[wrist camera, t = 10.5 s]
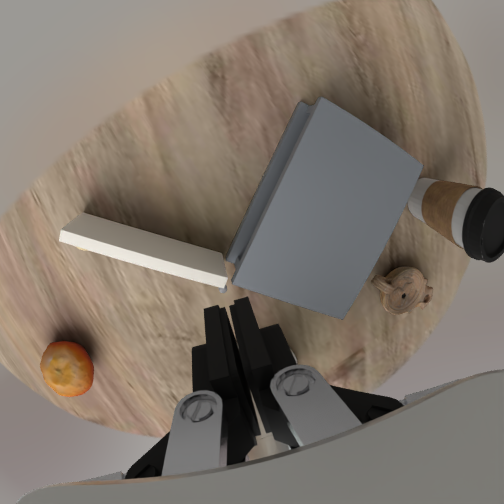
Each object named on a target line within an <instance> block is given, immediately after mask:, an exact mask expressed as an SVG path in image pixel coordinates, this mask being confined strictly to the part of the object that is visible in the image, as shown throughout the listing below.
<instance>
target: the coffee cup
mask: <svg viewBox="0 0 504 504" xmlns="http://www.w3.org/2000/svg"><path fill="white" fill-rule="evenodd" d="M407 204H408V208H409V211H410V212H411V214H412V215H413V216H414V217H416V218H418V219H419V220H421V221H422V222H424V223H426V224H427V225H428V226H430V227H431V228H433V229H434V230H435V231H437V232H438V233H440V234H441V235H443V236H444V237H445V238H447V239H448V240H450V241H451V242H452V243H454V244H455V245H457V246H458V247H460V248H462V249H465V252H466V253H467V254H468V256H470V257H471V258H474V259H476V260H483V261H485V262H493V261H495V260H497V259H498V258H499V257H500V256H501V255H502V254H503V253H504V196H503V195H502V194H501V192H499V191H497V190H495V189H493V188H484V189H482V188H480V187H478V186H472V185H467V184H461V183H455V182H449V181H442V180H435V179H430V178H420V179H418V180H417V182H416V184H415V187H414V189H413V191H412V193H411V195H410V197H409V199H408V201H407Z"/></svg>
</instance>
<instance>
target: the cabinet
mask: <svg viewBox="0 0 504 504" xmlns="http://www.w3.org/2000/svg"><path fill="white" fill-rule="evenodd" d="M423 166H424V165H422V164H421V163H420V162H419V161H417V160H416V159H415V158H413V157H412V156H411V155H409V154H408V153H407V152H405V151H404V150H403V149H401V148H400V147H399V146H397V145H396V144H395V143H393V142H392V141H390V140H389V139H388V138H386V137H385V136H383V135H382V134H380V133H379V132H377V131H376V130H374V129H373V128H372V127H370V126H369V125H367V124H365V123H364V122H362V121H361V120H359V119H358V118H356V117H355V116H353V115H352V114H350V113H348V112H347V111H345V110H344V109H342V108H340V107H339V106H337V105H335V104H334V103H332V102H330V101H329V100H327V99H325V98H323V97H318V99H317V101H316V103H315V105H311V106H309V105H307V104H305V103H303V102H298V104H297V106H296V108H295V111H294V113H293V115H292V117H291V119H290V121H289V123H288V125H287V127H286V129H285V131H284V133H283V135H282V137H281V140H280V142H279V144H278V146H277V148H276V150H275V152H274V154H273V156H272V158H271V161H270V163H269V165H268V167H267V169H266V171H265V173H264V175H263V177H262V180H261V182H260V184H259V186H258V188H257V190H256V192H255V195H254V197H253V199H252V201H251V203H250V205H249V207H248V210H247V212H246V214H245V216H244V218H243V220H242V223H241V225H240V227H239V229H238V231H237V233H236V236H235V238H234V240H233V242H232V244H231V247H230V249H229V251H228V253H227V255H226V261H228V262H231V263H233V264H234V265H235V268H236V271H235V273H234V275H233V277H232V279H231V281H232V284H233V285H236V286H239V287H242V288H245V289H248V290H251V291H254V292H257V293H260V294H263V295H266V296H269V297H272V298H275V299H278V300H281V301H284V302H287V303H290V304H294V305H297V306H300V307H303V308H306V309H309V310H312V311H316V312H319V313H322V314H325V315H328V316H332V317H335V318H338V319H341V320H343V319H344V317H345V315H346V314H347V312H348V310H349V309H350V307H351V305H352V304H353V302H354V300H355V299H356V297H357V295H358V294H359V292H360V290H361V289H362V287H363V285H364V283H365V282H366V280H367V278H368V276H369V275H370V273H371V271H372V269H373V267H374V266H375V264H376V262H377V260H378V258H379V256H380V255H381V253H382V251H383V249H384V247H385V245H386V243H387V241H388V240H389V238H390V236H391V234H392V232H393V230H394V228H395V226H396V224H397V222H398V220H399V218H400V216H401V214H402V212H403V210H404V208H405V206H406V204H407V201H408V199H409V197H410V195H411V193H412V191H413V189H414V187H415V184H416V182H417V180H418V178H419V175H420V173H421V171H422V169H423Z"/></svg>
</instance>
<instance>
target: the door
mask: <svg viewBox="0 0 504 504" xmlns="http://www.w3.org/2000/svg"><path fill="white" fill-rule="evenodd" d="M59 241H61V242H64V243H67V244H70V245H74V246H76V247H77V248H78V249H80V250H90V251H93V252H96V253H99V254H103V255H106V256H109V257H113V258H116V259H119V260H123V261H126V262H130V263H133V264H137V265H140V266H143V267H147V268H150V269H154V270H158V271H161V272H165V273H168V274H172V275H175V276H179V277H183V278H186V279H190V280H194V281H198V282H201V283H205V284H209V285H213V286H216V287H219V291H220V292H221V293H225V292H226V291H227V286H226V281H227V279H228V277H227V273H226V269H225V264H224V260H223V256H222V253H220V252H216V251H213V250H209V249H206V248H202V247H199V246H196V245H192V244H189V243H185V242H182V241H178V240H175V239H171V238H168V237H165V236H161V235H158V234H154V233H151V232H147V231H144V230H141V229H137V228H134V227H130V226H127V225H124V224H120V223H117V222H114V221H110V220H107V219H103V218H100V217H97V216H93V215H90V214H87V213H83V212H82V213H81V214H79V215H78V216H77V217H76V218H74V219H73V220H72V221H71V222H69V223H68V224H67V225H66V226H65V227H63V228H62V229H61V232H60V239H59Z"/></svg>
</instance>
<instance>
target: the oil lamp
mask: <svg viewBox="0 0 504 504" xmlns="http://www.w3.org/2000/svg"><path fill="white" fill-rule="evenodd" d="M427 281H428V280H427V279H425V278H424V276H423V274H422V272H420V271H419V270H418V269H416V268H412V267H398V268H396V269H394V270H393V271H391V272H390V273H389V274H388V275H387V276H386V277H383V276H381V275H375V276H374V278H373V280H372V281H371V283H372V284H373V285H374V286H375V287H376V288H378V289H379V290H380V299H381V303H382V305H383V307H384V308H385V310H386V311H388V312H389V313H390V314H395V315H399V314H402V313H405V312H408V313H411V312H412V310H413V309H414V308H415V307H417V306H419V307H420V308H421V309H423V308H424V307H425V306H426V305H427V304H428V303H429V302H430V301H431V299H432V293H433V288H432V287H429V286H427V285H426V283H427Z"/></svg>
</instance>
